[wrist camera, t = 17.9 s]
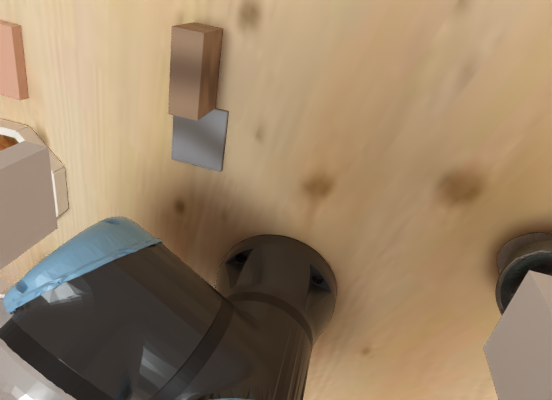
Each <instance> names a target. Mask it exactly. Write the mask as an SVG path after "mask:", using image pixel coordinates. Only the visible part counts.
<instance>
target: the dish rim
mask: <svg viewBox="0 0 552 400" xmlns="http://www.w3.org/2000/svg"><path fill="white" fill-rule="evenodd" d="M0 134H1V135H5V136H9V137H13V138H15V139H16V140H17V141H18V142H19V143H20V142H23V141H27V142H31V143H35V144H39V145H43V146H46V145H45V144H44V142H43V141H42V140H41V139H40V138H39V137H38V136H37V134H36V133H35V132H34V131H33V130H32V129H31V127H29V126H27V125H23V124H19V123H15V122H11V121H7V120H3V119H0ZM46 147H47V146H46ZM49 157H50V166H51V174H52V183H53V192H54V200H55V209H56V218H57V217H58V216H60V215H61V214H62V213H64V212H65V211H66V210H68V208H69V206H68V196H67V186H66V175H65V167H64V165H63V164H62V163H61V162H60V161H59V160H58V159H57V157H56V156H55V155H54V154H53V153H52V152H51V151H50V149H49Z"/></svg>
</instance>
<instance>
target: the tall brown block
mask: <svg viewBox="0 0 552 400" xmlns="http://www.w3.org/2000/svg"><path fill="white" fill-rule="evenodd" d="M222 34H223V29H222V28H218V27H213V26H208V25H203V24H199V23H188V24H182V25H176V26H172V35H171V61H170V86H169V112H168V114H171V115H174V117H173V139H172V160H176V161H180V162H184V163H188V164H192V165H196V166H200V167H204V168H208V169H212V170H216V171H220V172H221V171H222V167H223V158H224V149H225V140H226V131H227V122H228V113H229V111H225V110H221V109H217V108H215V107H216V97H217V87H218V76H219V66H220V55H221V45H222Z"/></svg>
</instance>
